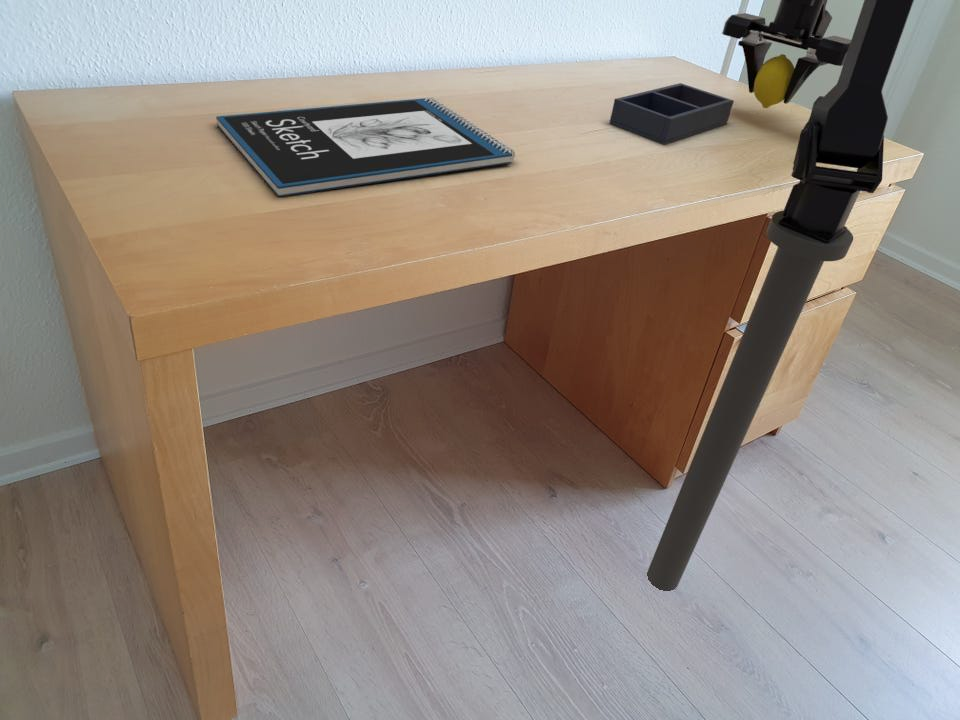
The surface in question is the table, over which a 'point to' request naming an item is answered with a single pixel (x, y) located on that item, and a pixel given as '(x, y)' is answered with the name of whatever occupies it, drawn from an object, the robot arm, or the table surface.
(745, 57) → the robot arm
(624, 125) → the holder
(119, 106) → the table surface
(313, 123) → the sketchbook
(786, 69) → the lemon
